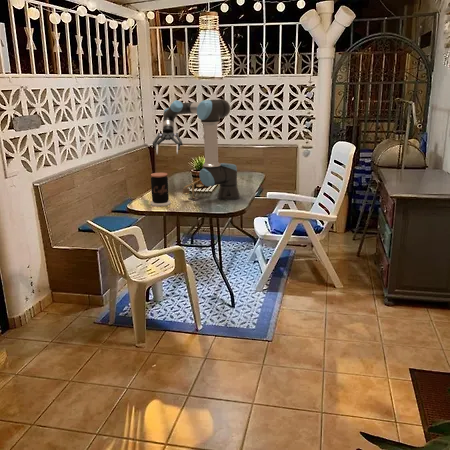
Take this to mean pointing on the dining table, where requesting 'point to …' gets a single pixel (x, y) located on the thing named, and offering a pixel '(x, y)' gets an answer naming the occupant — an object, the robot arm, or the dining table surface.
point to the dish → (160, 204)
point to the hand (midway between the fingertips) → (167, 153)
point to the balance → (186, 191)
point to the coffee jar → (159, 187)
